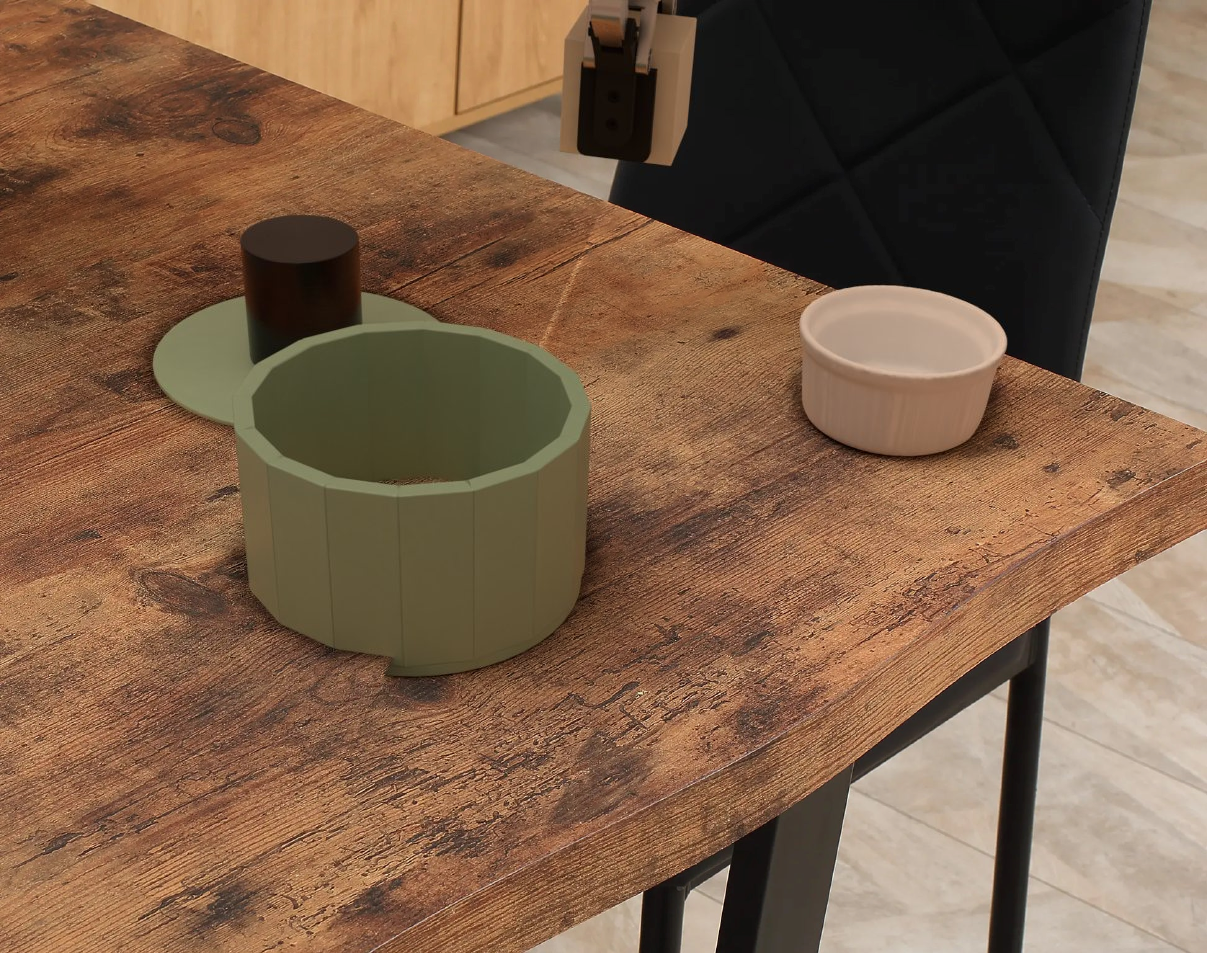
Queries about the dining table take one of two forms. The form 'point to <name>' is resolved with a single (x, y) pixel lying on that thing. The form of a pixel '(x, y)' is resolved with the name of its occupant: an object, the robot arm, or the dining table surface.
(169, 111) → the dining table surface
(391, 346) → the tin
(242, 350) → the tin lid
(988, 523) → the dining table surface
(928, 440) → the ramekin
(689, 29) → the tan cube
